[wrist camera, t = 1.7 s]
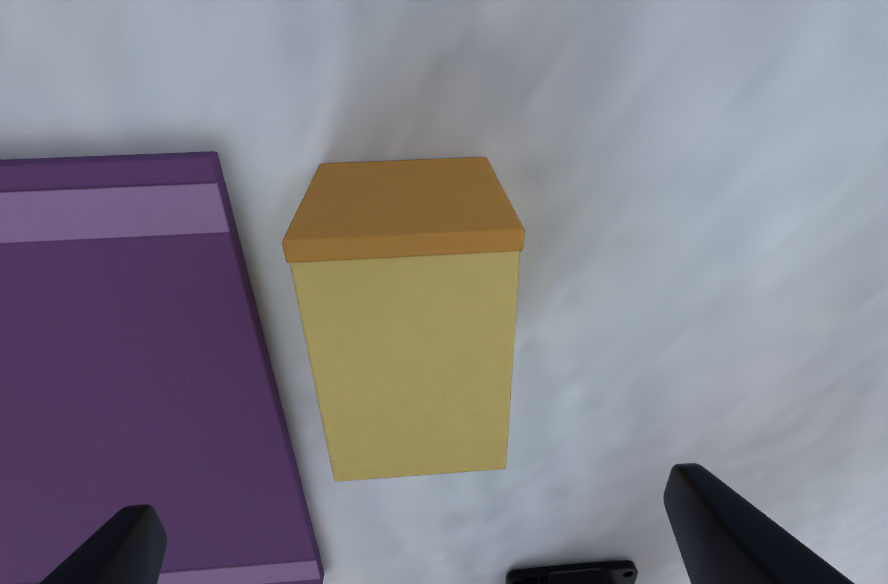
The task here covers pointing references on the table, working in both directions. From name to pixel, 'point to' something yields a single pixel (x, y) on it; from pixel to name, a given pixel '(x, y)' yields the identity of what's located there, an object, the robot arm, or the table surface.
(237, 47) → the table surface
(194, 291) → the towel
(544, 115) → the table surface
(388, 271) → the cheese
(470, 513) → the table surface
